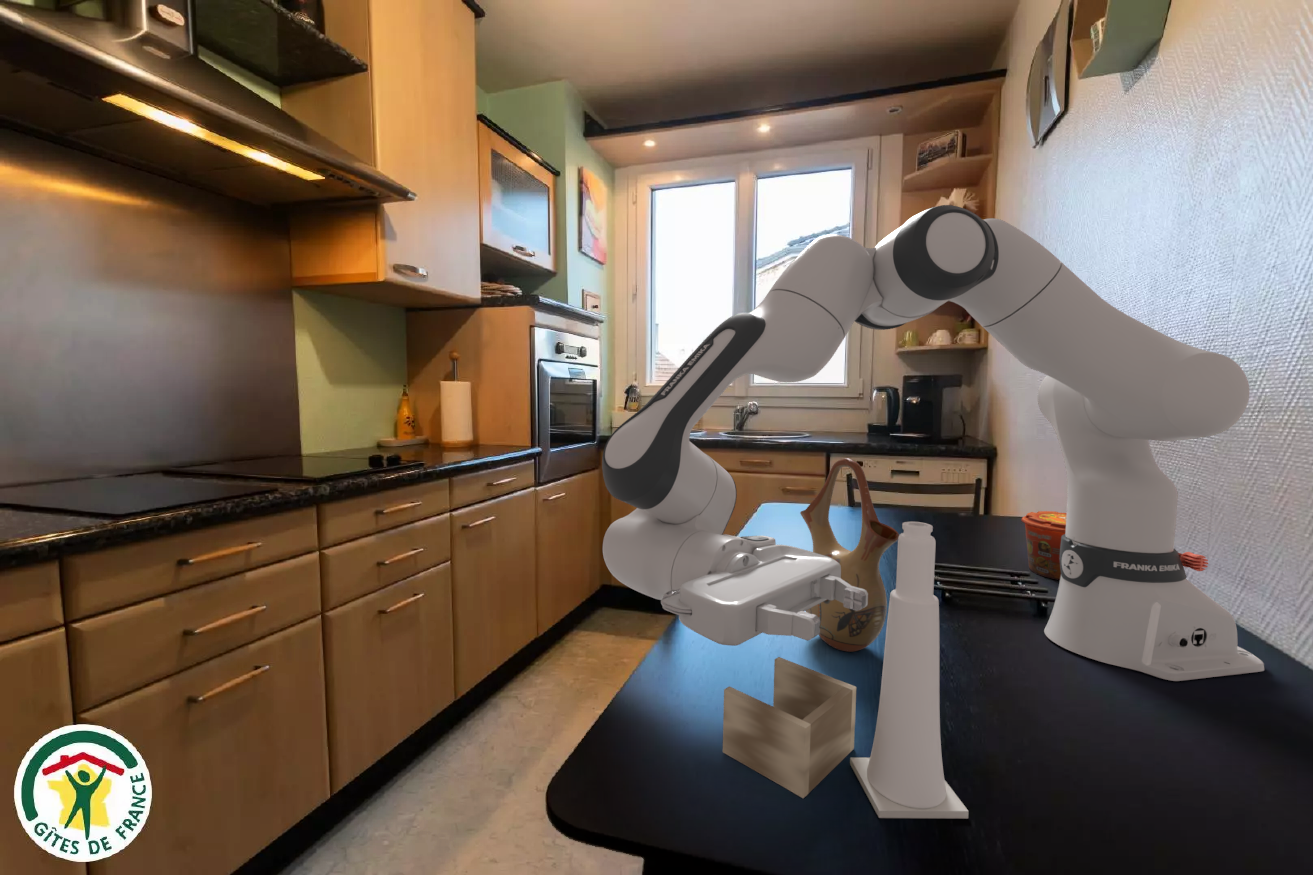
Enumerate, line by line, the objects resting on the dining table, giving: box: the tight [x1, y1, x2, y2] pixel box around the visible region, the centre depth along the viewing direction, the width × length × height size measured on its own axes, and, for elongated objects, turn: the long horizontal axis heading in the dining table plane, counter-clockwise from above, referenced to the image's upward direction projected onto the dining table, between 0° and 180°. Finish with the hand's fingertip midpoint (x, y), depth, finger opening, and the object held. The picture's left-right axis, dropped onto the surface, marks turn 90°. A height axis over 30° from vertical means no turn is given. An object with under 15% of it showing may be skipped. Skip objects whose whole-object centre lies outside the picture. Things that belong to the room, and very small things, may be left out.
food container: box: [1021, 510, 1067, 581], centre depth 105 cm, size 16×16×11 cm
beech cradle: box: [722, 656, 857, 799], centre depth 51 cm, size 8×9×6 cm
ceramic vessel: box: [799, 457, 900, 653], centre depth 73 cm, size 16×9×25 cm, turn 24°
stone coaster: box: [849, 757, 969, 819], centre depth 46 cm, size 7×6×1 cm
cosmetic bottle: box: [867, 521, 946, 809], centre depth 46 cm, size 6×6×22 cm
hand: (842, 614), depth 49 cm, fingers open, 8 cm apart
